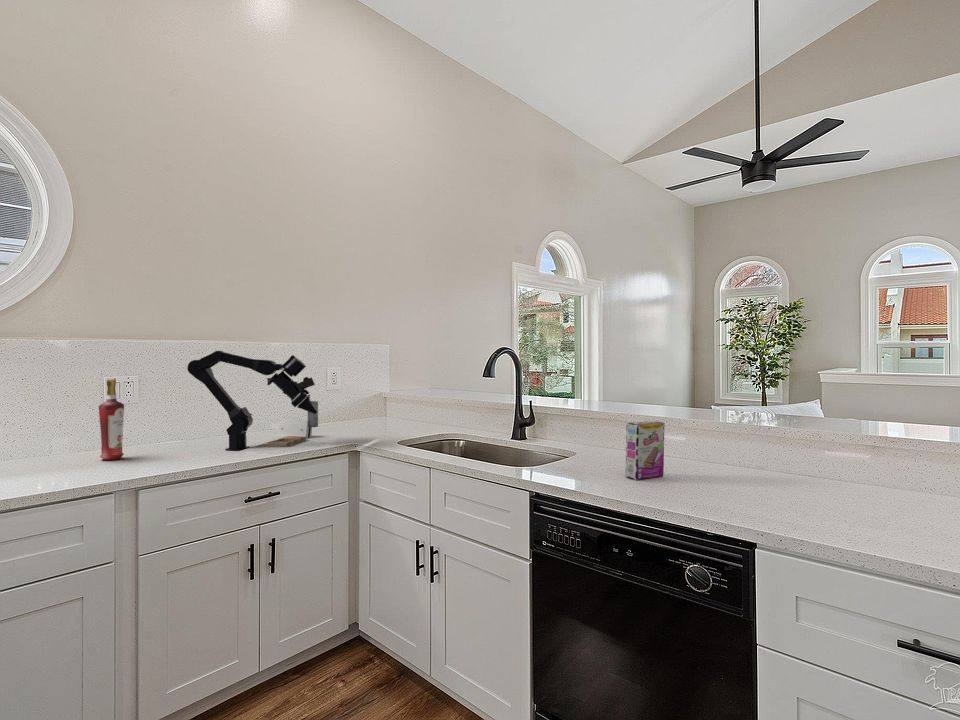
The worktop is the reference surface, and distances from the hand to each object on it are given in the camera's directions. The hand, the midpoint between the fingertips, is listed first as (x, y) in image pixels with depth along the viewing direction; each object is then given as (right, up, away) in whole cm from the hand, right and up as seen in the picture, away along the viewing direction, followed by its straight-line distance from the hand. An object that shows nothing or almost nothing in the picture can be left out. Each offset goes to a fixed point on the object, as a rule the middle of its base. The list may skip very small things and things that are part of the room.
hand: (316, 412), depth 209 cm
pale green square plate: (-1, -13, 0) cm, 13 cm away
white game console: (-15, -14, +18) cm, 27 cm away
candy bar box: (+114, -14, -52) cm, 126 cm away
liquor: (-64, -14, -25) cm, 70 cm away
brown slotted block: (-12, -13, +1) cm, 18 cm away
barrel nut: (-1, -6, 0) cm, 6 cm away
